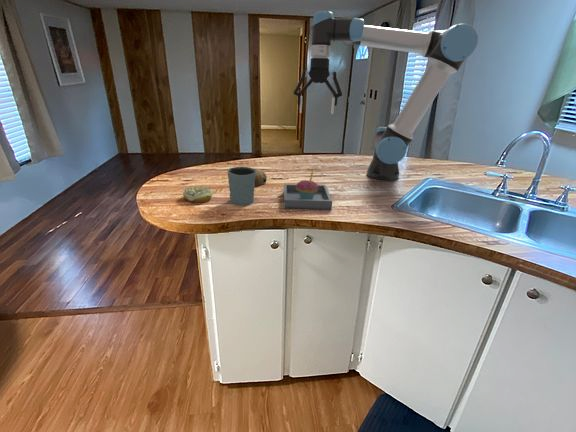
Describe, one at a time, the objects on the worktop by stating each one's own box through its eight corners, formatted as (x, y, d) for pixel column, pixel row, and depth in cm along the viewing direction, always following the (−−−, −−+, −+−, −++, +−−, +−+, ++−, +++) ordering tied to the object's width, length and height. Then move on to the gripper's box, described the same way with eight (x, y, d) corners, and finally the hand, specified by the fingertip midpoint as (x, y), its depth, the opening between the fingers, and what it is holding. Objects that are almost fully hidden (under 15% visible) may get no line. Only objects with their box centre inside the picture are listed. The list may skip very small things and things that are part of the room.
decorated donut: (189, 206, 110) (188, 196, 109) (180, 196, 118) (179, 187, 116) (216, 200, 116) (216, 191, 114) (206, 191, 124) (205, 183, 122)
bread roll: (258, 194, 132) (266, 179, 129) (237, 183, 132) (244, 167, 128) (264, 187, 141) (272, 172, 137) (245, 176, 141) (251, 161, 137)
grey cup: (232, 195, 120) (230, 165, 115) (257, 196, 120) (257, 167, 115) (226, 206, 111) (224, 174, 106) (254, 207, 111) (253, 175, 106)
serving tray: (325, 193, 126) (325, 185, 125) (331, 210, 111) (332, 201, 109) (283, 192, 126) (284, 184, 124) (284, 209, 110) (284, 200, 109)
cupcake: (321, 197, 119) (323, 167, 114) (311, 204, 112) (313, 173, 107) (302, 193, 123) (303, 163, 118) (291, 199, 116) (292, 168, 111)
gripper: (289, 56, 119) (287, 113, 128) (353, 58, 120) (346, 115, 129) (288, 57, 126) (287, 111, 135) (349, 59, 127) (343, 113, 136)
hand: (316, 113), depth 132 cm, fingers open, 13 cm apart
